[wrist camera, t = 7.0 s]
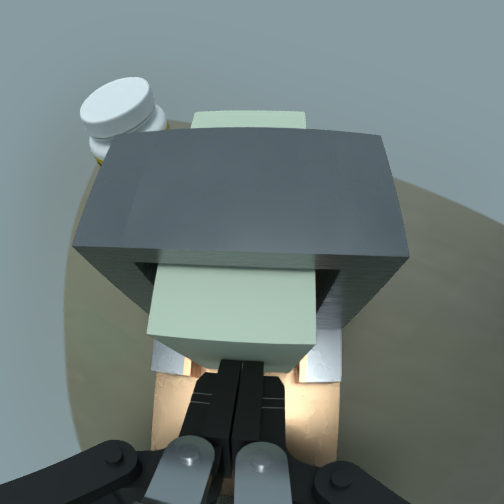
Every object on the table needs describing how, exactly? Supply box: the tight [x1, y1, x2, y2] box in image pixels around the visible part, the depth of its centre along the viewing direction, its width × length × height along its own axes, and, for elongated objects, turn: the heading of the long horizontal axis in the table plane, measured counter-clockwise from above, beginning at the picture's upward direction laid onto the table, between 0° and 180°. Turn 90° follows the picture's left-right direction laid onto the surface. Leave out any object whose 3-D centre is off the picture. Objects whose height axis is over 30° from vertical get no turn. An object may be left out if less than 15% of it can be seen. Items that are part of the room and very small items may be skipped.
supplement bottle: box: [80, 77, 170, 167], centre depth 17 cm, size 5×5×8 cm
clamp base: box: [72, 127, 410, 496], centre depth 11 cm, size 15×9×10 cm, turn 177°
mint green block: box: [147, 111, 316, 373], centre depth 12 cm, size 8×4×8 cm, turn 177°
